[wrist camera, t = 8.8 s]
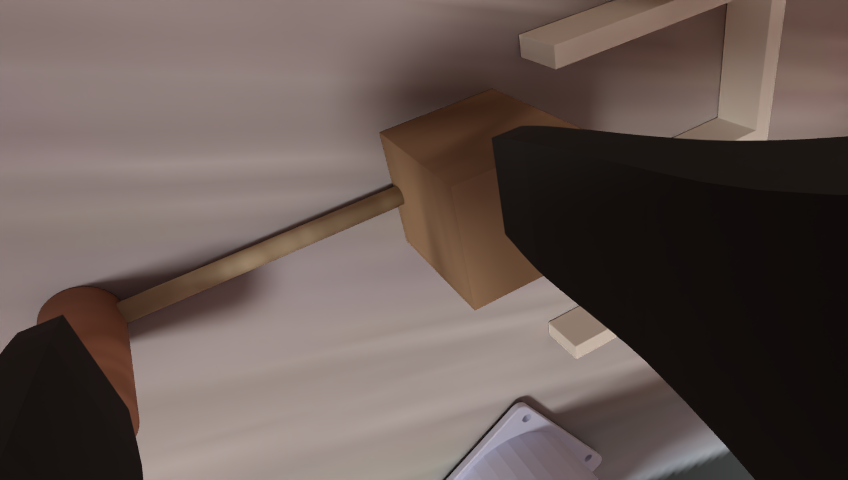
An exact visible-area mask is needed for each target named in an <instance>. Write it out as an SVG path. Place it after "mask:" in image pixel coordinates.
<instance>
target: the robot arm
mask: <svg viewBox="0 0 848 480" xmlns="http://www.w3.org/2000/svg"><path fill="white" fill-rule="evenodd" d="M492 145H493V152H494V160H495V167H496V174H497V181H498V188H499V195H500V202H501V209H502V216H503V223H504V231H505V235H506V236H507V237H508V238H509V239H510V240H511V242H512V243H513V244H514V245H515V246H516V247H517V248H518V250H519V251H520V252H521V253H522V254H523V255H524V256H525V258H526V259H527V260H528V261H529V262H530V263H531V264H532V265H533V266H534V267H535V268H536V269H537V270H538V271H539V272H540V273H541V274H542V275H543V276H545V277H546V278H547V279H548V280H549V281H550V282H552V283H553V284H554V285H555V286H556V287H558V288H559V289H560V290H561V291H562V292H564V293H565V294H566V295H567V296H568V297H570V298H571V299H572V300H573V301H575V302H576V303H577V304H578V305H579V306H581V307H582V308H583V309H584V310H586V311H587V312H588V313H589V314H590V315H592V316H593V317H594V318H595V319H597V320H598V321H599V322H600V323H602V324H603V325H604V326H605V327H606V328H608V329H609V330H610V331H611V332H613V333H614V334H615V335H616V336H617V337H619V338H620V339H621V340H622V341H624V342H625V343H626V344H627V345H628V346H629V347H630V348H632V349H633V350H634V351H635V352H636V353H637V354H638V355H639V356H641V357H642V358H643V359H644V360H645V361H646V362H647V363H648V364H649V365H650V366H651V367H652V368H653V369H654V370H655V371H656V372H657V373H658V374H659V375H660V376H661V377H662V378H663V379H664V380H665V381H666V382H667V383H668V384H669V385H670V386H671V387H672V388H673V389H674V390H675V391H676V393H677V394H678V395H679V396H680V397H681V398H682V399H683V400H684V401H685V402H686V403H687V404H688V405H689V406H690V407H691V408H692V409H693V410H694V412H695V413H696V414H697V415H698V416H699V417H700V418H701V419H702V420H703V421H704V422H705V423H706V425H707V426H708V427H709V428H710V429H711V430H712V431H713V432H714V433H715V434H716V435H717V436H718V438H719V439H720V440H721V441H722V442H723V443H724V444H725V445H726V446H727V448H728V449H729V450H730V451H731V452H732V453H733V455H734V456H735V457H736V458H737V459H738V460H739V461H740V463H741V464H742V465H743V466H744V467H745V468H746V470H747V471H748V472H749V473H750V474H751V475H752V476H753V478H754V479H755V480H848V136H846V137H832V138H817V139H800V140H753V141H726V140H699V139H683V138H666V137H654V136H642V135H632V134H622V133H613V132H603V131H594V130H585V129H575V128H565V127H553V126H519V127H517V128H514V129H512V130H509V131H507V132H505V133H502V134H500V135H497V136H495V137H492ZM601 461H602V457H601V456H600V455H599V453H598V452H596V451H595V450H593V449H592V448H590V447H589V446H587V445H586V444H584V443H583V442H581V441H580V440H578V439H577V438H575V437H574V436H573V435H571V434H570V433H568V432H567V431H565V430H564V429H562V428H561V427H559V426H558V425H556V424H555V423H553V422H552V421H550V420H549V419H547V418H546V417H545V416H543V415H542V414H540V413H539V412H537V411H536V410H534V409H533V408H531V407H530V406H528V405H527V404H525V403H523V402H520V403H517V404H515V405H514V406H513V407H512V408H511V409H510V410H509V411H508V412H507V413H506V414H505V415H504V416H503V418H502V419H501V420H500V421H499V422H498V423H497V424H496V425H495V426H494V427H493V429H492V430H491V431H490V432H489V433H488V434H487V435H486V436H485V437H484V438H483V440H482V441H481V442H480V443H479V444H478V445H477V446H476V447H475V448H474V449H473V451H472V452H471V453H470V454H469V455H468V456H467V457H466V458H465V459H464V460H463V462H462V463H461V464H460V465H459V466H458V467H457V468H456V469H455V470H454V471H453V472H452V474H451V475H450V476H449V477H448V478H447V479H446V480H599V479H598V478H597V477H596V476H595V474H594V473H593V471H594V470H595V469H596V468H597V467H598V466H599V465H600V463H601ZM0 480H143V472H142V464H141V459H140V455H139V450H138V445H137V441H136V436H135V432H134V428H133V424H132V420H131V416H130V412H129V409H128V407H127V406H126V404H125V403H124V401H123V400H122V399H121V397H120V396H119V394H118V393H117V391H116V390H115V389H114V387H113V386H112V384H111V383H110V381H109V380H108V378H107V377H106V376H105V374H104V373H103V371H102V370H101V368H100V367H99V366H98V364H97V363H96V361H95V360H94V358H93V357H92V355H91V354H90V353H89V351H88V350H87V348H86V347H85V345H84V344H83V343H82V341H81V340H80V338H79V337H78V335H77V334H76V332H75V331H74V330H73V328H72V327H71V325H70V324H69V322H68V321H67V320H66V318H65V317H64V315H63V314H62V315H60V316H58V317H55V318H53V319H50V320H48V321H45V322H43V323H41V324H38V325H36V326H33V327H31V328H28V329H26V330H24V331H21V332H19V333H17V334H16V335H15V337H14V338H13V339H12V340H11V341H10V342H9V344H8V345H7V346H6V347H5V349H4V350H3V351H2V353H1V354H0Z"/></svg>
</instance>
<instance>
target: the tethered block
mask: <svg viewBox="0 0 848 480" xmlns="http://www.w3.org/2000/svg"><path fill="white" fill-rule="evenodd" d="M519 126H553V127H565V128H575V129H581V128H579V127H577V126H575V125H572V124H570V123H568V122H566V121H563V120H561V119H559V118H557V117H555V116H552V115H550V114H548V113H546V112H543V111H541V110H539V109H537V108H535V107H532V106H530V105H528V104H526V103H523V102H521V101H519V100H517V99H515V98H512V97H510V96H508V95H506V94H503V93H501V92H499V91H497V90H495V89H490V90H487V91H485V92H482V93H480V94H477V95H475V96H472V97H469V98H467V99H464V100H462V101H459V102H457V103H454V104H451V105H449V106H446V107H444V108H441V109H439V110H436V111H433V112H431V113H428V114H426V115H423V116H421V117H418V118H415V119H413V120H410V121H408V122H405V123H403V124H400V125H397V126H395V127H392V128H390V129H387V130H385V131H382V132H379V133H380V137H381V141H382V145H383V149H384V153H385V157H386V161H387V165H388V168H389V172H390V176H391V180H392V184H393V187H392V188H389V189H387V190H385V191H382V192H380V193H378V194H375V195H373V196H370V197H368V198H366V199H363V200H361V201H359V202H356V203H354V204H351V205H349V206H347V207H344V208H342V209H339V210H337V211H335V212H332V213H330V214H328V215H325V216H323V217H320V218H318V219H316V220H313V221H311V222H308V223H306V224H304V225H301V226H299V227H297V228H294V229H292V230H289V231H287V232H285V233H282V234H280V235H277V236H275V237H273V238H270V239H268V240H266V241H263V242H261V243H258V244H256V245H254V246H251V247H249V248H246V249H244V250H242V251H239V252H237V253H235V254H232V255H230V256H227V257H225V258H223V259H220V260H218V261H215V262H213V263H211V264H208V265H206V266H204V267H201V268H199V269H196V270H194V271H192V272H189V273H187V274H185V275H182V276H180V277H177V278H175V279H173V280H170V281H168V282H165V283H163V284H161V285H158V286H156V287H154V288H151V289H149V290H146V291H144V292H142V293H139V294H137V295H134V296H132V297H130V298H127V299H125V300H123V301H120V300H119V299H118V298H117V297H116V296H115V295H113V294H112V293H110V292H108V291H106V290H103V289H100V288H95V287H75V288H71V289H67V290H64V291H62V292H60V293H57V294H56V295H54V296H53V297H51V298H50V299H49V300H48V301H47V302H46V303H45V304H44V305H43V306H42V308H41V310H40V312H39V314H38V318H37V325H38V324H41V323H43V322H45V321H48V320H50V319H53V318H55V317H58V316H60V315H62V314H63V315H64V317H65V318H66V320H67V321H68V322H69V324H70V325H71V327H72V328H73V330H74V331H75V332H76V334H77V335H78V337H79V338H80V340H81V341H82V343H83V344H84V345H85V347H86V348H87V350H88V351H89V353H90V354H91V355H92V357H93V358H94V360H95V361H96V363H97V364H98V366H99V367H100V368H101V370H102V371H103V373H104V374H105V376H106V377H107V378H108V380H109V381H110V383H111V384H112V386H113V387H114V389H115V390H116V391H117V393H118V394H119V396H120V397H121V399H122V400H123V401H124V403H125V404H126V406H127V407H128V409H129V412H130V416H131V420H132V424H133V428H134V432H135V436H136V435H137V433H138V429H139V414H138V406H137V397H136V389H135V381H134V373H133V365H132V357H131V349H130V341H129V333H128V325H127V323H129V322H132V321H134V320H136V319H139V318H141V317H143V316H146V315H148V314H150V313H153V312H155V311H157V310H160V309H162V308H164V307H166V306H169V305H171V304H173V303H176V302H178V301H180V300H183V299H185V298H187V297H190V296H192V295H194V294H197V293H199V292H201V291H204V290H206V289H208V288H211V287H213V286H215V285H218V284H220V283H222V282H225V281H227V280H229V279H231V278H234V277H236V276H238V275H241V274H243V273H245V272H248V271H250V270H252V269H255V268H257V267H259V266H262V265H264V264H266V263H269V262H271V261H273V260H276V259H278V258H280V257H283V256H285V255H287V254H290V253H292V252H294V251H296V250H299V249H301V248H303V247H306V246H308V245H310V244H313V243H315V242H317V241H320V240H322V239H324V238H327V237H329V236H331V235H334V234H336V233H338V232H341V231H343V230H345V229H348V228H350V227H352V226H355V225H357V224H359V223H362V222H364V221H366V220H368V219H371V218H373V217H375V216H378V215H380V214H382V213H385V212H387V211H389V210H392V209H394V208H396V207H398V208H399V212H400V216H401V220H402V223H403V227H404V231H405V235H406V239H407V241H408V243H409V244H410V245H411V246H412V247H413V248H414V249H415V250H416V251H417V252H418V253H419V254H420V255H421V256H422V257H423V258H424V259H425V260H426V261H427V262H428V263H429V264H430V265H431V266H432V267H433V268H434V269H435V270H436V271H437V272H438V273H439V274H440V275H441V276H442V277H443V278H444V279H445V280H446V281H447V282H448V284H449V285H450V286H451V287H452V288H453V289H454V290H455V291H456V292H457V293H458V294H459V295H460V296H461V297H462V298H463V299H464V300H465V301H466V302H467V303H468V304H469V305H470V306H471V307H472V308H473V309H474V310H477V309H479V308H481V307H483V306H485V305H487V304H489V303H491V302H493V301H494V300H496V299H498V298H500V297H502V296H504V295H506V294H508V293H510V292H512V291H514V290H516V289H518V288H520V287H522V286H524V285H526V284H528V283H530V282H532V281H534V280H536V279H538V278H540V277H542V276H543V275H542V274H541V273H540V272H539V271H538V270H537V269H536V268H535V267H534V266H533V265H532V264H531V263H530V262H529V261H528V260H527V259H526V258H525V256H524V255H523V254H522V253H521V252H520V251H519V250H518V248H517V247H516V246H515V245H514V244H513V243H512V242H511V240H510V239H509V238H508V237H507V236H506V235H505V231H504V223H503V216H502V209H501V202H500V195H499V188H498V181H497V174H496V167H495V160H494V152H493V145H492V137H495V136H497V135H500V134H502V133H505V132H507V131H509V130H512V129H514V128H517V127H519Z"/></svg>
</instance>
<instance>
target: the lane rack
mask: <svg viewBox="0 0 848 480" xmlns="http://www.w3.org/2000/svg"><path fill="white" fill-rule="evenodd" d="M726 3H727V14H726V25H725V37H724V49H723V61H722V73H721V84H720V96H719V108H718V118H715V119H713V120H711V121H709V122H707V123H704V124H702V125H700V126H698V127H696V128H693V129H691V130H689V131H687V132H685V133H682V134H680V135H678V136H676V137H674V138H683V139H699V140H726V141H753V140H767V138H768V130H769V123H770V116H771V108H772V101H773V94H774V86H775V79H776V72H777V64H778V57H779V50H780V42H781V35H782V28H783V20H784V13H785V6H786V0H614V1H611V2H608V3H605V4H603V5H600V6H597V7H594V8H592V9H589V10H586V11H583V12H580V13H578V14H575V15H572V16H569V17H567V18H564V19H561V20H558V21H556V22H553V23H550V24H547V25H545V26H542V27H539V28H536V29H533V30H531V31H528V32H525V33H522V34H520V35H519V40H520V50H521V57H522V58H525V59H528V60H531V61H533V62H536V63H539V64H542V65H545V66H547V67H550V68H553V69H558V68H561V67H563V66H566V65H569V64H571V63H574V62H576V61H579V60H581V59H584V58H587V57H589V56H592V55H594V54H597V53H599V52H602V51H605V50H607V49H610V48H612V47H615V46H617V45H620V44H623V43H625V42H628V41H630V40H633V39H635V38H638V37H641V36H643V35H646V34H648V33H651V32H654V31H656V30H659V29H661V28H664V27H666V26H669V25H672V24H674V23H677V22H679V21H682V20H684V19H687V18H690V17H692V16H695V15H697V14H700V13H702V12H705V11H708V10H710V9H713V8H715V7H718V6H720V5H723V4H726ZM548 323H549V332H550V335H551V336H552V337H553V338H554V339H555V340H556V341H557V342H558V343H559V344H560V345H561V346H563V347H564V348H565V349H566V350H567V351H568V352H569V353H570V354H571V355H572V356H573V357H575V358H576V359H578V358H580V357H581V356H583V355H585V354H587V353H589V352H591V351H592V350H594V349H596V348H598V347H600V346H601V345H603V344H605V343H607V342H609V341H610V340H612V339H614V338H616V337H617V336H616V335H615V334H614V333H613V332H611V331H610V330H609V329H608V328H606V327H605V326H604V325H603V324H602V323H600V322H599V321H598V320H597V319H595V318H594V317H593V316H592V315H590V314H589V313H588V312H587V311H586V310H584V309H583V308H582V307H581V306H579V307H577V308H575V309H573V310H571V311H569V312H567V313H565V314H564V315H562V316H560V317H558V318H556V319H554V320H552V321H550V322H548Z"/></svg>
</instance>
